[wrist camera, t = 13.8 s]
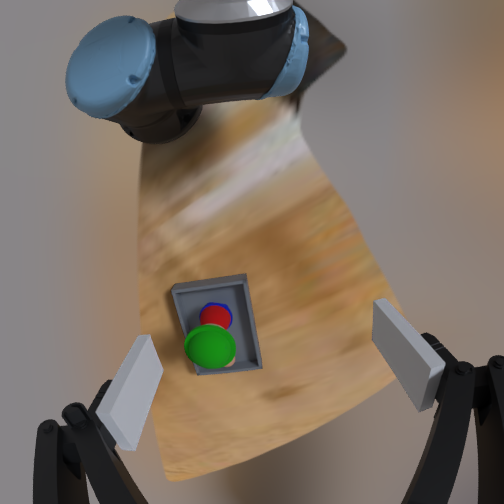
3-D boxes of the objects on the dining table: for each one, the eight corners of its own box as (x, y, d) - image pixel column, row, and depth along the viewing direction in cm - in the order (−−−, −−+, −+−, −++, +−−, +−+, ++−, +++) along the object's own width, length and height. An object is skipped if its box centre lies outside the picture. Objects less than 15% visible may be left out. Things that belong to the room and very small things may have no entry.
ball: (216, 347, 55) (214, 357, 52) (233, 345, 55) (233, 355, 52) (220, 360, 56) (218, 371, 53) (237, 359, 56) (236, 369, 53)
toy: (194, 327, 54) (180, 377, 39) (197, 290, 52) (180, 335, 37) (235, 332, 54) (232, 384, 40) (240, 296, 52) (238, 342, 38)
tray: (175, 283, 52) (171, 290, 49) (246, 273, 51) (246, 279, 48) (199, 366, 57) (197, 375, 54) (261, 359, 57) (262, 368, 54)
